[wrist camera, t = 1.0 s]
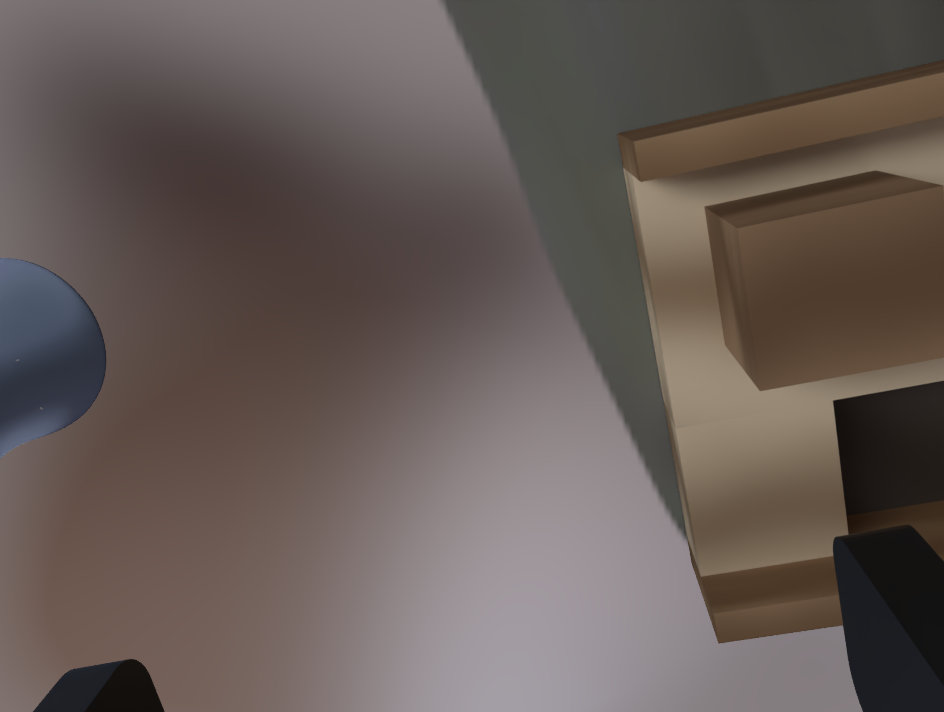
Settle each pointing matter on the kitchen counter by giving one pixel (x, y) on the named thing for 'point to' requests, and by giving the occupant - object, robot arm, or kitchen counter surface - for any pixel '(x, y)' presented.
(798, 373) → the block
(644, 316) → the kitchen counter surface
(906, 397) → the trap tray
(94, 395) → the blue flashlight
